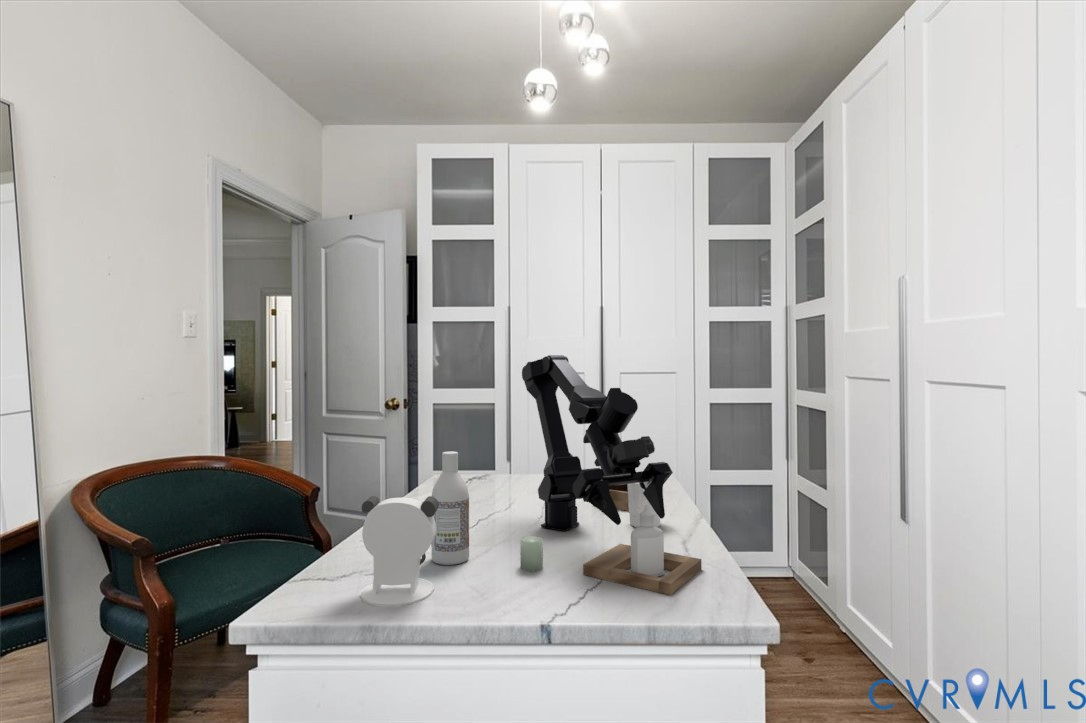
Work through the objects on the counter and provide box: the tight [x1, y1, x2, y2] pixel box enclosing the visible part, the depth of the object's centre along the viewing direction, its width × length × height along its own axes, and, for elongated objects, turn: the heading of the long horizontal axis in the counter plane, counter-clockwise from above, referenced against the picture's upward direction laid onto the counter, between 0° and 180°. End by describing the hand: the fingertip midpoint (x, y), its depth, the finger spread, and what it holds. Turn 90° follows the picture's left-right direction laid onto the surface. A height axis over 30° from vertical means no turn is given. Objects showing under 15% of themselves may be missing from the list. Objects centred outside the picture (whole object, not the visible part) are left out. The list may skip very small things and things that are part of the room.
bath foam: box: [430, 450, 470, 566], centre depth 111 cm, size 7×7×20 cm
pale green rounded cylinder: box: [519, 536, 544, 573], centre depth 107 cm, size 4×4×5 cm
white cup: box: [627, 483, 661, 528], centre depth 134 cm, size 8×8×10 cm
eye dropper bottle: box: [630, 505, 665, 578], centre depth 103 cm, size 4×6×12 cm
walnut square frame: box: [582, 543, 702, 596], centre depth 104 cm, size 16×14×2 cm
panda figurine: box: [360, 495, 439, 608], centre depth 95 cm, size 12×11×15 cm
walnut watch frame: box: [609, 490, 629, 512], centre depth 153 cm, size 11×11×4 cm
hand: (641, 520), depth 104 cm, fingers open, 9 cm apart
